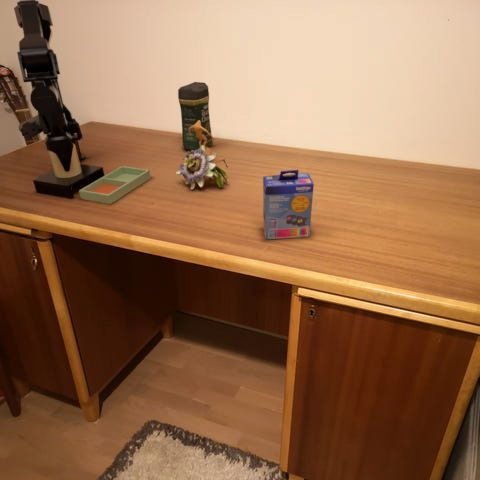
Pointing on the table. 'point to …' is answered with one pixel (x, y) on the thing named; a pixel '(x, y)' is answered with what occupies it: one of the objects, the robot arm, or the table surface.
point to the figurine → (201, 135)
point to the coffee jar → (194, 113)
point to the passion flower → (201, 168)
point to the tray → (115, 184)
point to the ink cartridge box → (287, 205)
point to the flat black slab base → (65, 181)
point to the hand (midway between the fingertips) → (66, 166)
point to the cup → (58, 168)
